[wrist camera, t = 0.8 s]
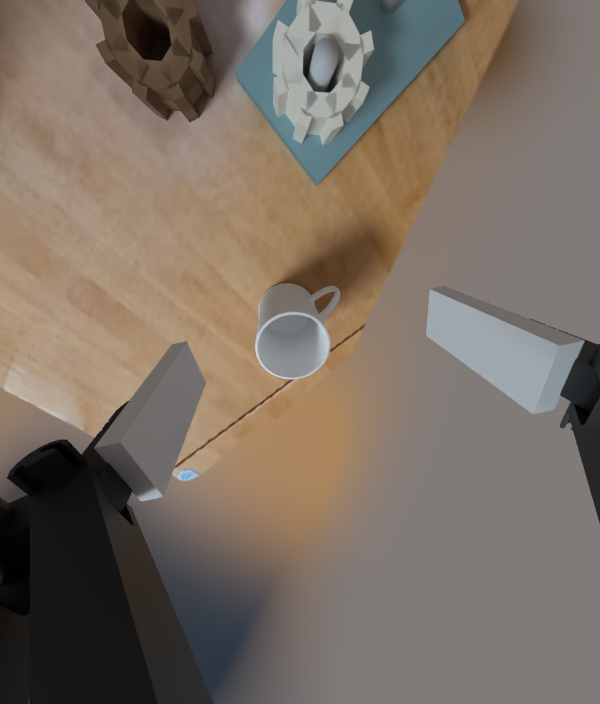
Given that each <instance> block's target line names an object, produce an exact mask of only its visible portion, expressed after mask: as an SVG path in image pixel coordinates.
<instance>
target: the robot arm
mask: <svg viewBox="0 0 600 704" xmlns="http://www.w3.org/2000/svg"><path fill="white" fill-rule="evenodd" d="M426 335H427V336H428V337H429V338H431V339H432V340H433V341H435V342H436V343H437V344H439V345H440V346H442V347H443V348H444V349H446V350H447V351H448V352H450V353H451V354H452V355H454V356H455V357H456V358H458V359H459V360H461V361H462V362H463V363H465V364H466V365H467V366H469V367H470V368H471V369H473V370H474V371H475V372H477V373H478V374H480V375H481V376H482V377H483V378H485V379H486V380H488V381H489V382H490V383H492V384H493V385H494V386H496V387H497V388H498V389H500V390H501V391H502V392H504V393H505V394H507V395H508V396H509V397H511V398H512V399H513V400H515V401H516V402H517V403H519V404H520V405H521V406H523V407H524V408H526V409H527V410H528V411H530V412H531V413H532V414H536V413H541V412H545V411H550V410H554V409H555V407H556V405H557V402H558V400H559V398H560V396H563V397H564V398H566V399H568V400H569V401H571V402H570V405H569V407H568V409H567V411H566V413H565V415H564V417H563V419H562V421H561V424H560V427H561V428H565V426H566V424H567V423H569V422H571V425H572V428H571V430H573V432H574V435H575V439H576V442H577V446H578V449H579V453H580V456H581V460H582V463H583V467H584V470H585V474H586V477H587V480H588V484H589V488H590V491H591V495H592V498H593V501H594V505H595V508H596V512H597V515H598V518H599V522H600V344H599V345H597V344H595V343H592V342H590V341H587V340H585V339H582V338H579V337H577V336H574V335H572V334H569V333H566V332H563V331H560V330H557V329H556V328H553V327H551V326H546V325H545V324H543V323H540V322H537V321H535V320H532V319H528V318H525V317H523V316H520V315H517V314H515V313H512V312H510V311H507V310H505V309H502V308H500V307H497V306H494V305H492V304H489V303H487V302H484V301H481V300H478V299H476V298H474V297H471V296H468V295H466V294H463V293H460V292H458V291H455V290H453V289H450V288H448V287H445V286H442V287H438V288H433V289H430V296H429V308H428V321H427V334H426ZM205 384H206V382H205V380H204V378H203V376H202V374H201V372H200V369H199V367H198V365H197V363H196V361H195V359H194V356H193V354H192V352H191V350H190V348H189V346H188V343H187V341H186V342H181V343H176V344H172V345H171V347H170V348H169V349H168V351H167V352H166V353H165V354H164V356H163V357H162V358H161V360H160V361H159V362H158V364H157V365H156V366H155V368H154V369H153V370H152V372H151V373H150V374H149V376H148V377H147V378H146V380H145V381H144V382H143V384H142V385H141V386H140V388H139V389H138V390H137V392H136V393H135V394H134V396H133V397H132V398H131V399H130V401H127V402H126V403H125V404H124V405H122V406H121V407H120V408H119V409H118V410H116V412H115V413H114V414H113V415H112V417H111V418H110V419H109V420H108V421H109V422H107V423H106V424H105V426H104V427H103V428H102V431H100V432H99V433H98V434H97V436H96V437H95V438H94V440H93V441H92V442H91V443H90V445H89V446H88V447H87V448H86V450H85V451H84V452H83V454H82V455H81V454H80V453H79V452H78V451H77V450H76V449H75V448H74V447H73V446H72V444H71V443H70V442H68V440H57V441H54V442H50V443H48V444H46V445H44V446H42V447H40V448H38V449H36V450H35V451H33V452H31V453H30V454H28V455H27V456H26V457H24V458H23V459H22V460H21V461H19V462H18V463H17V464H16V465H15V466H14V467H13V468H12V470H11V471H10V473H9V474H8V477H7V478H8V479H9V480H10V481H11V482H13V483H14V484H15V485H16V486H18V487H19V488H20V489H21V490H23V491H24V492H25V493H27V494H28V495H26V496H24V497H22V498H20V499H17V500H15V501H13V502H11V503H7V502H6V501H4V500H3V499H1V498H0V704H28V701H29V696H30V704H214V703H213V701H212V698H211V696H210V693H209V691H208V688H207V686H206V684H205V681H204V679H203V677H202V675H201V672H200V669H199V667H198V665H197V662H196V660H195V658H194V655H193V653H192V651H191V648H190V646H189V643H188V641H187V638H186V636H185V634H184V631H183V629H182V627H181V624H180V622H179V619H178V617H177V615H176V612H175V610H174V608H173V605H172V603H171V600H170V598H169V596H168V593H167V591H166V589H165V586H164V584H163V582H162V579H161V577H160V574H159V572H158V569H157V567H156V565H155V562H154V560H153V558H152V556H151V553H150V550H149V548H148V546H147V543H146V541H145V539H144V536H143V534H142V532H141V529H140V527H139V525H138V522H137V520H136V517H135V515H134V512H133V510H132V508H131V507H130V506H129V505H128V504H127V501H128V499H129V497H130V495H131V493H132V492H133V493H134V494H135V495H136V496H137V497H138V499H139V500H140V501H146V500H150V499H155V498H159V497H163V496H164V493H165V491H166V488H167V485H168V483H169V480H170V477H171V475H172V472H173V469H174V467H175V464H176V461H177V459H178V456H179V453H180V451H181V448H182V445H183V443H184V440H185V437H186V435H187V432H188V429H189V427H190V424H191V421H192V419H193V416H194V413H195V411H196V408H197V405H198V403H199V400H200V397H201V395H202V392H203V389H204V387H205Z"/></svg>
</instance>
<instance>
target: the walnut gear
mask: <svg viewBox="0 0 600 704" xmlns="http://www.w3.org/2000/svg"><path fill="white" fill-rule="evenodd" d="M85 2H86V3H87V4H88V5H89V7H90V8H91V9H92V10H93V11H94V12H95V14H96V15H97V16H98V17H99V18H100V20H101V22H102V26H103V31H104V35H105V40H104V41H102V42H100V43H98V44H96V46H97V48H98V50H99V52H100V54H101V56H102V57H103V59H104V61H105V63H106V64H107V65H108V66H109V67H110V68H111V69H112V70H113V71H114V72H115V73H116V74H117V75H118V76H119V77H120V78H121V79H122V80H123V81H125V82H126V83H127V84H128V85H129V86H130V87H131V88H132V92H133V93H134V94H135V95H136V96H137V97H138V98H139V99H140V100H141V101H142V102H143V103H144V104H146V105H147V106H148V107H149V108H150V109H151V110H152V111H153V112H154V113H155V114H156V115H158V116H160V117H162V118H164V119H166V120H168V114H169V110H175V111H181V112H182V113H183V114H184V116H185V117H186V118H187V119H188V121H189V122H191V121H193V120H195V119H197V118H199V116H198V114H197V112H196V109H195V107H194V106H195V105H196V103H197V102H198V100H199V99H200V97H201V96H202V94H203V93H205V94H206V95H208V96H210V97H211V98H213V94H214V89H215V82H214V80H213V77H212V75H211V73H210V70H209V68H208V65H207V63H206V60H205V58H204V57H205V56H207V55H209V54H211V53H212V50H211V47H210V44H209V41H208V39H207V36H206V33H205V30H204V27H203V24H202V21H201V19H200V16H199V13H198V10H197V8H196V5H195V2H194V0H85ZM158 38H160V39H170V40H171V46H170V48H169V50H168V51H167V53H166V55H165V56H164V58H163V60H162V61H154V60H151V58H150V51H151V50H152V48H153V46H154V44H155V43H156V41H157V39H158Z"/></svg>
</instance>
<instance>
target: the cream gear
mask: <svg viewBox="0 0 600 704" xmlns="http://www.w3.org/2000/svg"><path fill="white" fill-rule="evenodd" d="M352 2H353V0H337V3H331V2H323V1H316V0H298V1H297V10H296V18H295V19H294V21H293V22H292V24H291V25H290V26H289V27H287V26H286V25H285V24H283V23H282V22H281V21H279V20H278V21H277V25H276V28H275V32H274V36H273V71H272V72H273V73H274V74H276V75H277V77H275V78H273V105H274V108H275V112H276V115H277V117H280V116H282V115H284V114H286V115H287V116H288V118H289V119H290V121H291V122H292V123H293V125H294V126H295V131H294V135H293V139H294V140H296V141H298V142H299V143H301V144H302V142H303V140H304V137H305V135H306V134H311V135H320V138H321V142H322V145H324V144H326V143H328V142H331V141H332V140H333V139H334V137H335V136H336V135H337V133H338V132H339V131H340V129H341V128H342V127H343V125H344V123H343V120H345V121H346V122H349V120H350V119H351V118H352V117H353V115H354V114H355V113H356V111H357V110H358V109H359V107H360V106H361V105H362V104H363V102H364V100H365V97H366V95H367V92H368V90H369V86H368V85H366V84H365V83H364V82H362V81H361V75H362V69H363V67H364V65H365V64H366V62H367V60H368V59H369V57H370V55H371V53H372V52H373V50H374V46H373V39H372V33H371V30H370V31H368V32H366V33H364V34H362V35H360V34H359V32H358V30H357V28H356V26H355V24H354V22H353V20H352V18H351V17H350V15H349V11H350V8H351V5H352ZM323 38H329V39H331V40H332V41H333V42H334V43H335V45H336V47H337V50H338V62H337V65H336V68H335V70H334V73H333V75H332V78H331V80H330V82H331V92H330V93H326V92H314V91H313V89H312V88H311V86H310V85H309V83H308V81H307V80H306V78H305V77H304V75H303V73H304V72H305V70H306V69H307V68H308V67H310V64H311V60H312V56H313V52H314V48H315V46H316V44H317V43H318V41H319V40H321V39H323Z"/></svg>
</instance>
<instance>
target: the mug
mask: <svg viewBox="0 0 600 704" xmlns="http://www.w3.org/2000/svg"><path fill="white" fill-rule="evenodd" d="M329 292H335V294H334V296H333V298H332V300H331V301H330V303H329V304H328V305H327V306H326V308H325V309H324V310H323V311H321V312H320V313H318V311H317V309H316V307H315V301H316V300H317V299H318V298H320V297H321V296H323V295H325V294H327V293H329ZM339 300H340V291H339V289H338V288H337V287H335V286H328V287H325V288H323V289H321V290H319V291H317V292H316V293H314V294H313V295H310V293H309V292H308V291H307V290H306V289H304V288H303V287H301V286H299V285H296V284H292V283H282V284H278V285H275V286H273V287H271V288H270V289H269V290H267V291H266V292H265V294H264V295H263V296H262V298H261V300H260V302H259V306H258V316H259V319H258V327H257V334H256V341H255V351H256V355H257V358H258V360H259V362H260V364H261V365H262V366H263V367H264V368H265V369H266V370H267V371H268V372H269V373H271V374H273V375H275V376H277V377H280V378H284V379H299V378H303V377H306V376H309V375H311V374H312V373H314V372H316V371H317V370H318V369H319V368H320V367H321V366H322V365H323V364H324V362H325V361H326V359H327V357H328V355H329V351H330V337H329V333H328V331H327V329H326V327H325V325H324V323H323V322H324V320H325V319H326V318H327V317H328V316H329V315H330V314H331V312H332V311H333V310H334V308H335V307H336V306H337V304H338V302H339Z"/></svg>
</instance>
